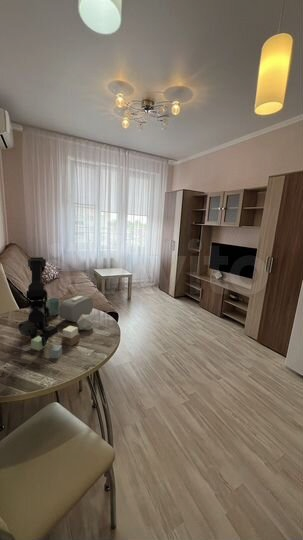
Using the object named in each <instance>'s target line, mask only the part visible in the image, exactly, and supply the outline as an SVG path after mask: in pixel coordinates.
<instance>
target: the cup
mask: <svg viewBox="0 0 303 540" xmlns="http://www.w3.org/2000/svg"><path fill="white" fill-rule="evenodd" d="M60 305H61V300H60V298H58V297H50V298H47V302H46V307H47V306H48V308H49V316H51V317H54V316H57V315H59V308H60Z"/></svg>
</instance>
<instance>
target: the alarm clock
mask: <svg viewBox="0 0 303 540" xmlns="http://www.w3.org/2000/svg"><path fill="white" fill-rule="evenodd" d="M93 308H94V300H93V298H92V297H90V296H84V295H75V296H73V297H70V298H68V299H66V300H64V301H62V302H61V303H60V308H59V313H58V315H59V318H60V319H62V320H65V321H68V322H73V323H77V321H78V320H79V318H80V317H81V315H91V313H92V311H93Z"/></svg>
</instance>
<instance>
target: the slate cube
mask: <svg viewBox="0 0 303 540" xmlns="http://www.w3.org/2000/svg"><path fill="white" fill-rule="evenodd" d="M48 354H49V359H60V357H61V356H62V354H63V345H62V344H61V345H60V344H58V345H56V344H52V346H51V347H50V348H49V353H48Z"/></svg>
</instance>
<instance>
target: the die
mask: <svg viewBox="0 0 303 540" xmlns="http://www.w3.org/2000/svg"><path fill="white" fill-rule="evenodd" d="M76 324H77V325H78V329H79V330H80V331H90V330H91V329H92V327H93V326H94V324H95V321H94V318H93V315H92V314H89V315H81V317H80V318H79V320H78V321H77V322H76Z"/></svg>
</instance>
